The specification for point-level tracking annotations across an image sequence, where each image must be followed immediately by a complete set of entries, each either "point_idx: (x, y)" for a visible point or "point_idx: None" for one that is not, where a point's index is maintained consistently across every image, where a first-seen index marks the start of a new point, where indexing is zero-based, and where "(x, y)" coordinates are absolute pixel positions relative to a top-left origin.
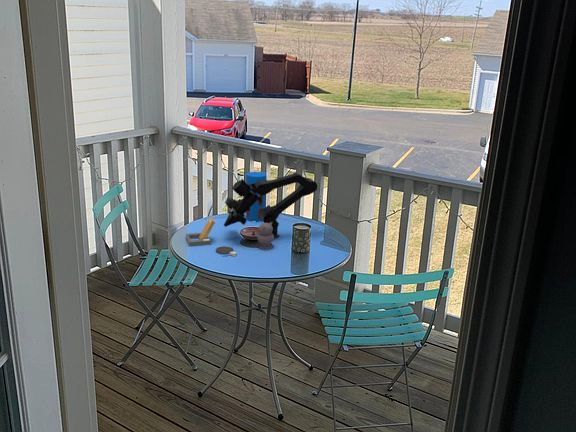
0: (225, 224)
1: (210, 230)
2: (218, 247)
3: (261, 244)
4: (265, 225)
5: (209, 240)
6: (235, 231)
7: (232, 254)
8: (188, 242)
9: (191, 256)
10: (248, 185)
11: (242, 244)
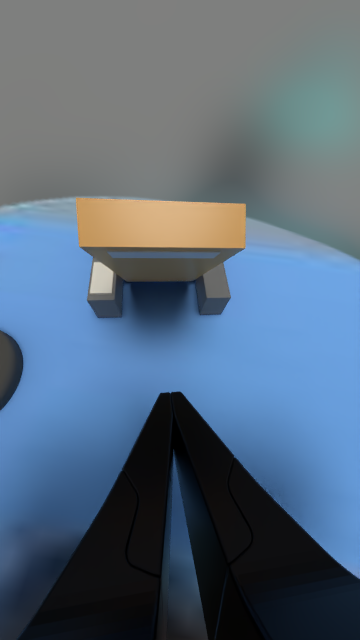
0: (153, 411)
1: (110, 267)
2: (5, 340)
3: None
4: None
5: (90, 292)
6: (341, 525)
7: None
8: None
9: (14, 230)
10: None
11: (54, 558)
